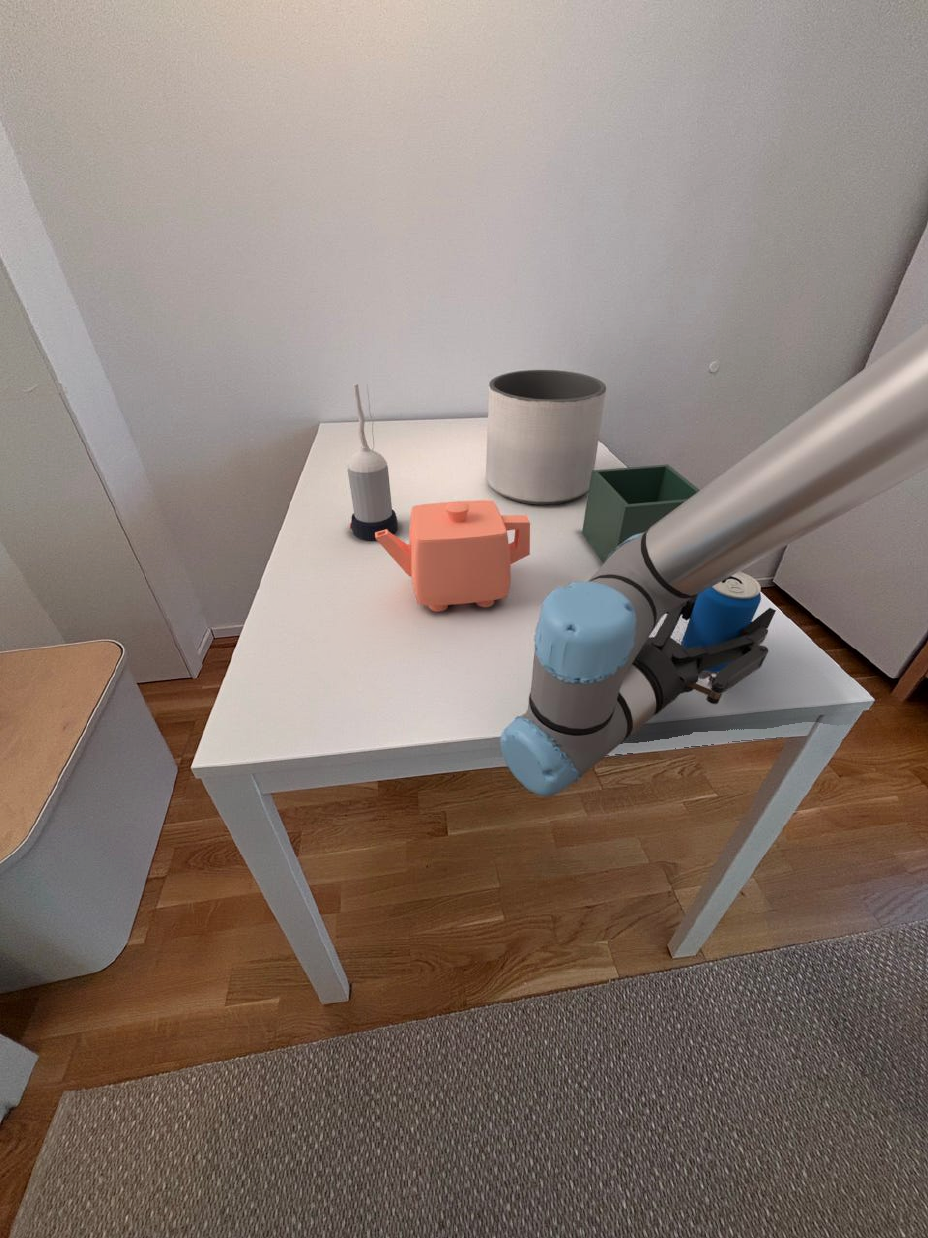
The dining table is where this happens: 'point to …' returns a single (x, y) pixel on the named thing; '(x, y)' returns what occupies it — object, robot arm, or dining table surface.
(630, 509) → the waste bin
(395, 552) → the teapot
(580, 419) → the planter
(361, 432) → the humidifier
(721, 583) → the beverage can
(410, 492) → the dining table surface
